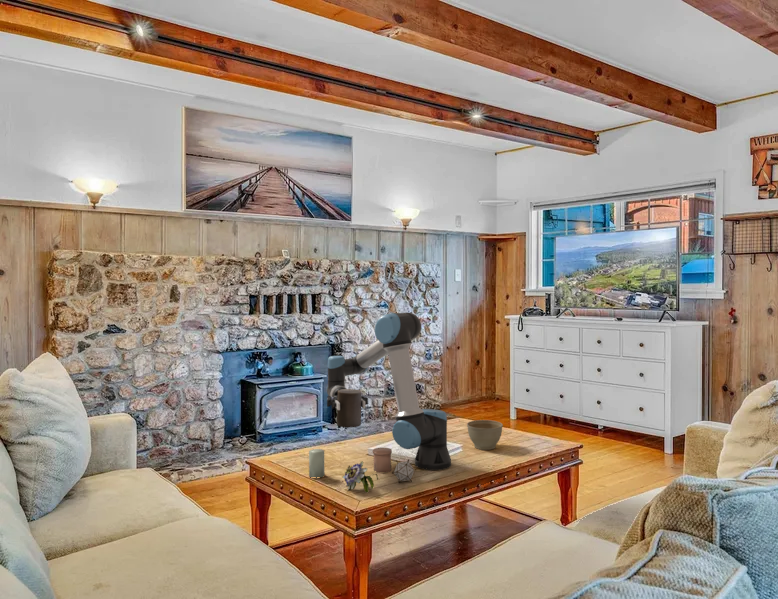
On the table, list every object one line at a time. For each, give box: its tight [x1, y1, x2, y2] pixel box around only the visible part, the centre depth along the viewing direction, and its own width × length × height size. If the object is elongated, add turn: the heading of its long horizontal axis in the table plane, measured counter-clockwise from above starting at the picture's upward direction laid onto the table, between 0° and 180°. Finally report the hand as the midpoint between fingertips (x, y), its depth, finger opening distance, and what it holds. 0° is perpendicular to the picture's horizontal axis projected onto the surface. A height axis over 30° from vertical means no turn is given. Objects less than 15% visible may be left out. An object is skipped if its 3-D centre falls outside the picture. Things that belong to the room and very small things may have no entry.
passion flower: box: [342, 460, 379, 493], centre depth 223 cm, size 11×11×12 cm
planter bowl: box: [466, 419, 503, 451], centre depth 277 cm, size 16×16×11 cm
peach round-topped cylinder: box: [372, 447, 393, 473], centre depth 245 cm, size 8×8×8 cm
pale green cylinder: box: [308, 448, 326, 478], centre depth 238 cm, size 6×6×10 cm
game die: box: [391, 459, 417, 484], centre depth 231 cm, size 9×8×10 cm
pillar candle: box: [336, 388, 363, 429], centre depth 241 cm, size 10×10×15 cm
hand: (351, 405), depth 237 cm, fingers closed on pillar candle, 9 cm apart
